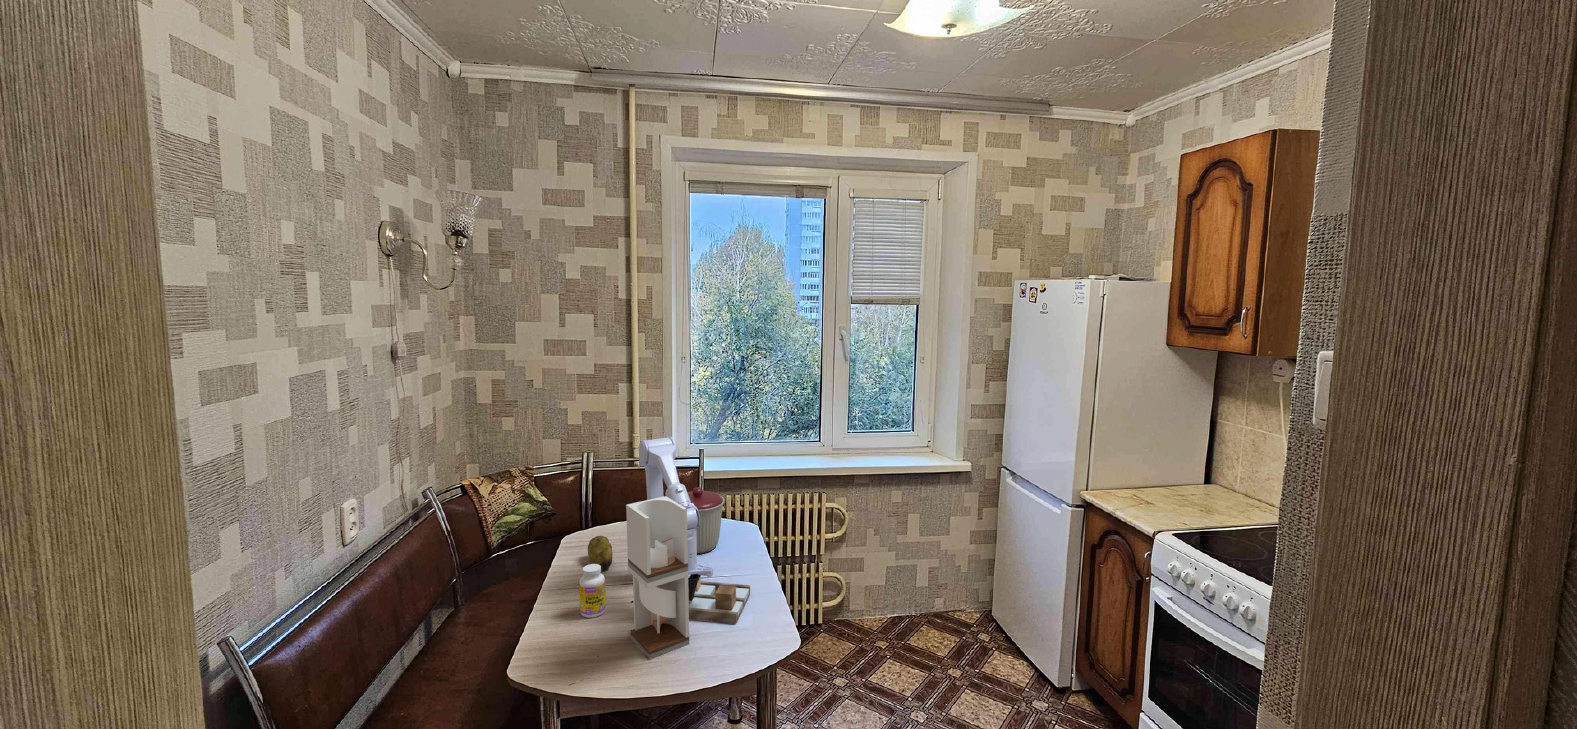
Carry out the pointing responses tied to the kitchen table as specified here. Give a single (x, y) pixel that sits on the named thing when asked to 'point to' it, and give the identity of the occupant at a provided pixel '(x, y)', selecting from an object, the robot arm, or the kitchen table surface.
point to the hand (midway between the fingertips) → (687, 599)
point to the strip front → (711, 604)
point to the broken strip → (711, 589)
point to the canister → (707, 518)
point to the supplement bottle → (592, 591)
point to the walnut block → (725, 597)
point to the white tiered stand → (658, 574)
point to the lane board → (717, 614)
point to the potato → (600, 552)
